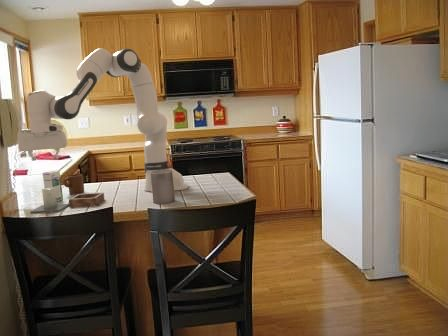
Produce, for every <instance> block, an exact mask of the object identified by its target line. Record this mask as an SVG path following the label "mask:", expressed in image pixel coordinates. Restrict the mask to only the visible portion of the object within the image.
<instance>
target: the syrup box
mask: <svg viewBox="0 0 448 336" xmlns="http://www.w3.org/2000/svg"><path fill="white" fill-rule="evenodd" d="M60 172H61V171H60V170H50V171H49V170H48V171H45V172H42V180H43V186H44V188H55V193H56V201H57V202H61V201H63V200H64V196H63V195H64V194H63V189H62V188H63V187H62V181H61V173H60ZM44 188H43V189H44ZM60 200H61V201H60Z"/></svg>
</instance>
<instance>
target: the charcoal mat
mask: <svg viewBox="0 0 448 336" xmlns="http://www.w3.org/2000/svg"><path fill="white" fill-rule="evenodd" d="M68 207H70V206H69V203H60V204H57V207H56V208H52V209H44V204H42V205H40V206H38V207H36V208H35V209H32V210H30V211H29V212H30V214H39V213H40V214H43V213H58V212H59V211H60V212H62V211H63V210H65V209H67V208H68Z"/></svg>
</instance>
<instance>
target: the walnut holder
mask: <svg viewBox="0 0 448 336" xmlns="http://www.w3.org/2000/svg"><path fill="white" fill-rule="evenodd" d="M103 201H105V192H93V193H92V192H89V193H81V194H74V196H72V197H71V198H69V199H68V204H69V206H68V207H69V208H76V207H77V208H79V207H80V208H81V207H94V206H95V207H97V206H98V205H100V204H101V203H102V202H103Z"/></svg>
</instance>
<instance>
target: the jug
mask: <svg viewBox="0 0 448 336" xmlns="http://www.w3.org/2000/svg"><path fill="white" fill-rule="evenodd" d="M41 191H42V192H41V193H42V200H43V205H44V209H52V208H56V207H57V202H58V201H57V202H56V193H55V188H41Z"/></svg>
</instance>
